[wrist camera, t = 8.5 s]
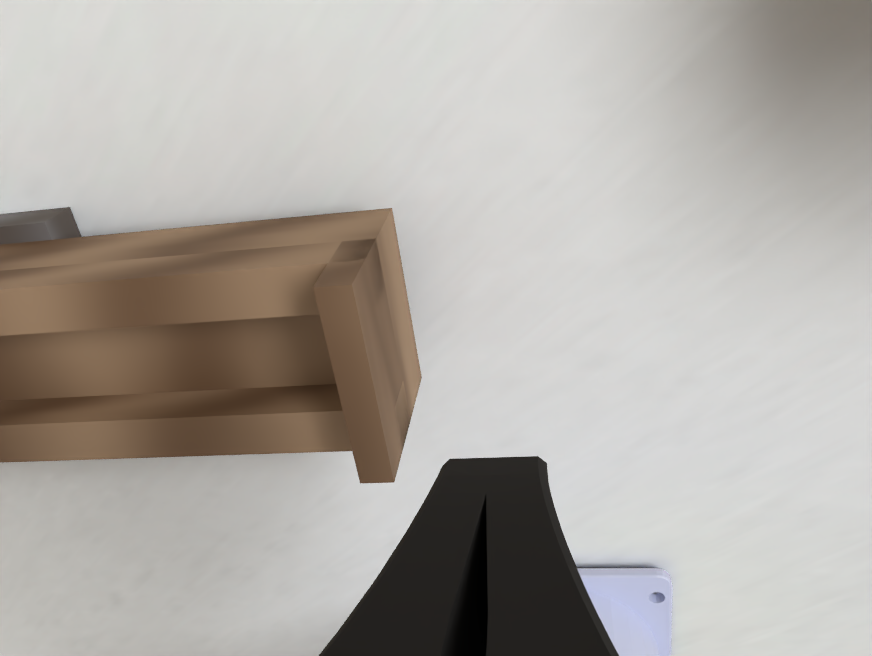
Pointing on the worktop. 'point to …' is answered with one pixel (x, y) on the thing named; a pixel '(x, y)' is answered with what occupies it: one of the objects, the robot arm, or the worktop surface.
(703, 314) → the worktop surface
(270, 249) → the beam
